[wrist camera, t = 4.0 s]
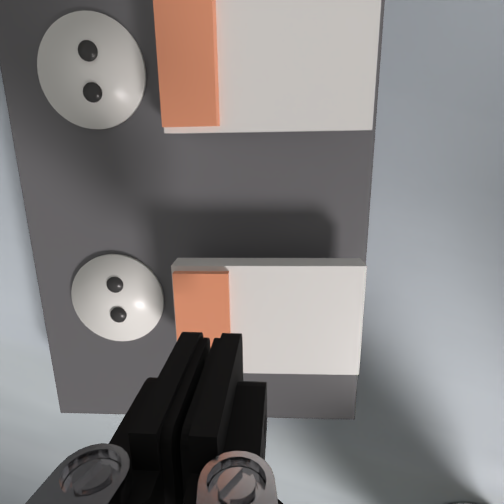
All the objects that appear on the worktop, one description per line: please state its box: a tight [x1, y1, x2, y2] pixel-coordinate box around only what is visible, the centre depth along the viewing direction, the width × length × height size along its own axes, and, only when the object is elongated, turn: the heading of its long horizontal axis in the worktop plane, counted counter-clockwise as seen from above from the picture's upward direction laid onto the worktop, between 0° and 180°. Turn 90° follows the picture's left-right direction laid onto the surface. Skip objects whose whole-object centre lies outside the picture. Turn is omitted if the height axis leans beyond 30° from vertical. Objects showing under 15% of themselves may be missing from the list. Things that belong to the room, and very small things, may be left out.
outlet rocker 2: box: [171, 258, 367, 375], centre depth 15 cm, size 7×4×1 cm, turn 91°
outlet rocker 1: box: [153, 0, 381, 134], centre depth 12 cm, size 7×4×1 cm, turn 91°
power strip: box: [0, 0, 385, 419], centre depth 17 cm, size 14×39×4 cm, turn 1°
